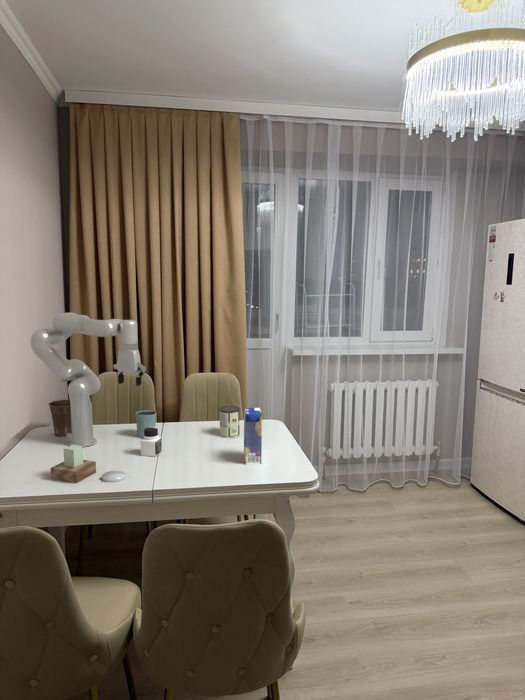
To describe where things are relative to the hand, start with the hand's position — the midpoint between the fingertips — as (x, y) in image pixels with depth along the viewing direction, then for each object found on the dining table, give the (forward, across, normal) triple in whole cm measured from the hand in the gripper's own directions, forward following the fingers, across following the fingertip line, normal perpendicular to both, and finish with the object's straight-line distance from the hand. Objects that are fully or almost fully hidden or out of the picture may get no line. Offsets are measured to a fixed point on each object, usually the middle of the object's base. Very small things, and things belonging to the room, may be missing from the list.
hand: (129, 384), depth 235 cm
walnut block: (+31, 0, -38) cm, 48 cm away
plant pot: (+30, -43, +5) cm, 53 cm away
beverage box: (+30, +58, +8) cm, 66 cm away
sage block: (+26, 0, -37) cm, 45 cm away
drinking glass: (+30, -5, +18) cm, 36 cm away
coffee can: (+30, +33, +37) cm, 58 cm away
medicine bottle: (+30, +13, -3) cm, 33 cm away
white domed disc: (+31, +16, -33) cm, 48 cm away
